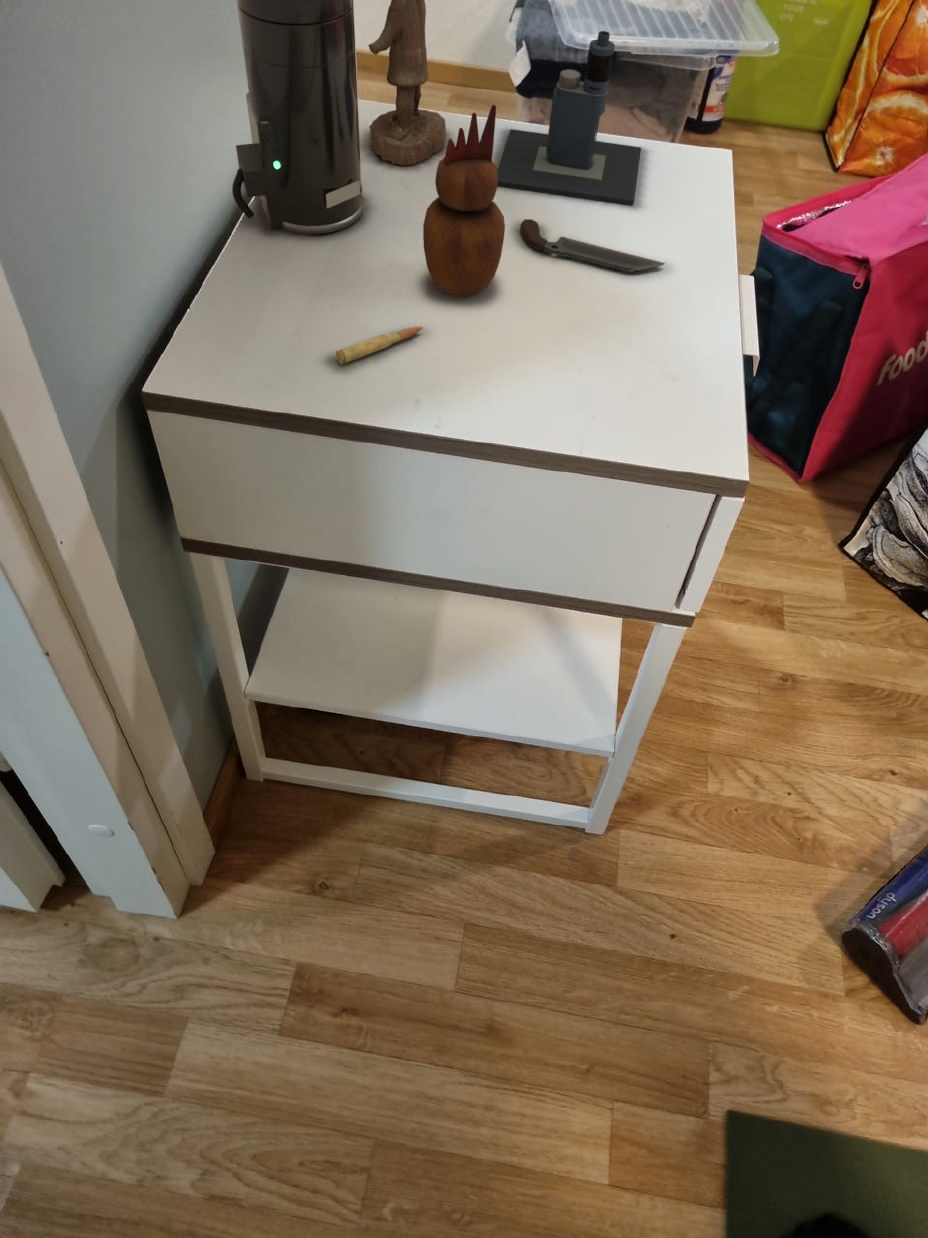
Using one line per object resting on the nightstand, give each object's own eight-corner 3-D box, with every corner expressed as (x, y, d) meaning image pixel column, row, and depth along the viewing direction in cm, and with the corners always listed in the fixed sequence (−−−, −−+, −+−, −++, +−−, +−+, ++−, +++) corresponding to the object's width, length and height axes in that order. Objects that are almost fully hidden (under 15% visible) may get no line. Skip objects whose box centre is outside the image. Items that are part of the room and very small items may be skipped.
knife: (510, 244, 84) (511, 237, 83) (524, 223, 86) (524, 216, 86) (656, 282, 82) (658, 275, 81) (666, 259, 84) (668, 252, 83)
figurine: (380, 120, 97) (374, -111, 81) (450, 129, 97) (458, -102, 81) (362, 161, 92) (352, -78, 76) (435, 170, 92) (441, -68, 75)
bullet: (335, 358, 73) (342, 367, 73) (335, 348, 72) (341, 356, 72) (418, 328, 76) (426, 336, 76) (419, 318, 75) (426, 326, 75)
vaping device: (593, 171, 92) (615, 40, 82) (542, 162, 92) (558, 31, 83) (597, 159, 93) (619, 29, 84) (547, 150, 94) (564, 20, 84)
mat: (493, 185, 90) (493, 179, 90) (510, 133, 97) (510, 128, 96) (633, 205, 89) (634, 199, 89) (640, 151, 96) (641, 146, 96)
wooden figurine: (501, 269, 82) (517, 93, 70) (496, 307, 78) (512, 129, 66) (427, 262, 82) (430, 85, 70) (418, 299, 78) (420, 120, 66)
